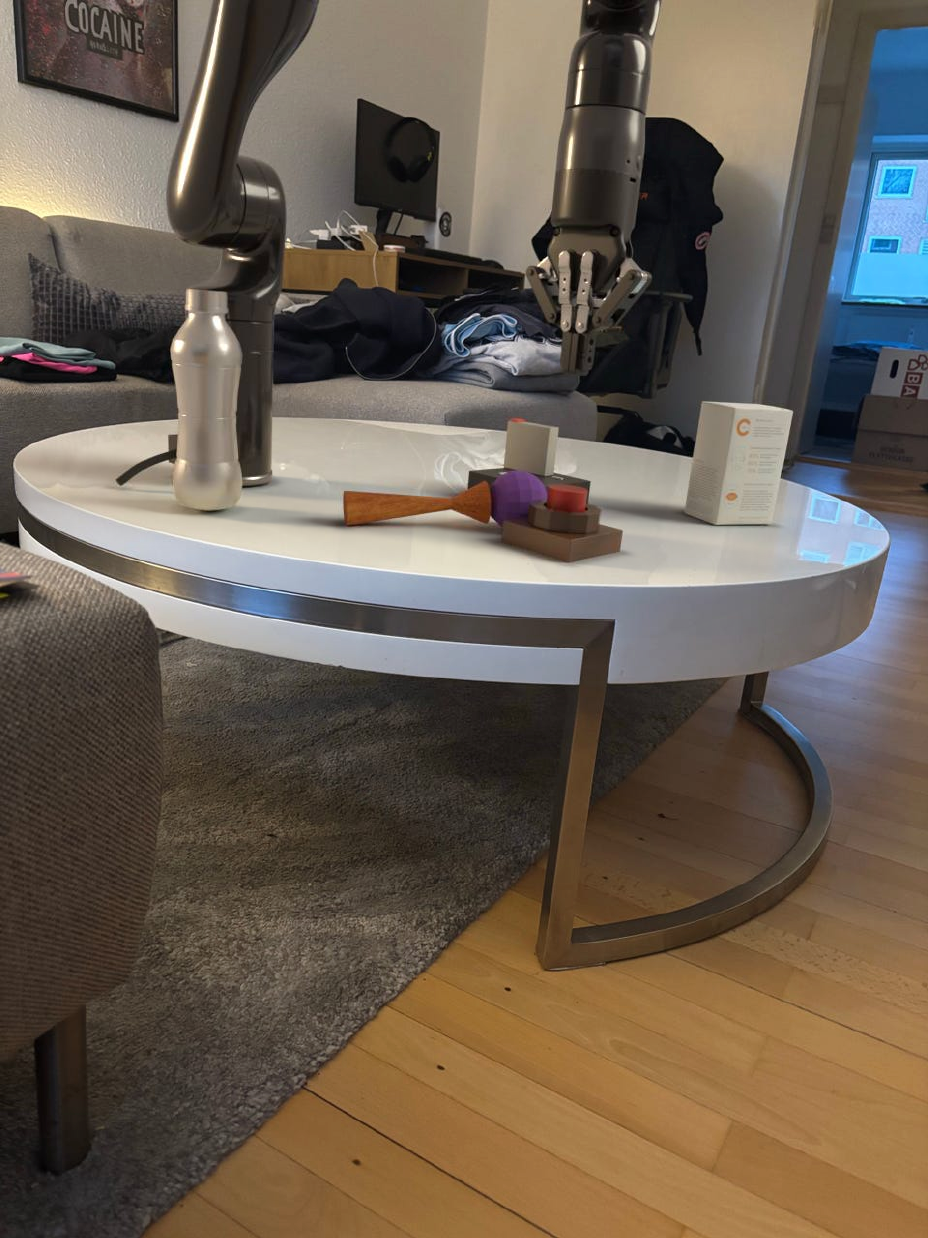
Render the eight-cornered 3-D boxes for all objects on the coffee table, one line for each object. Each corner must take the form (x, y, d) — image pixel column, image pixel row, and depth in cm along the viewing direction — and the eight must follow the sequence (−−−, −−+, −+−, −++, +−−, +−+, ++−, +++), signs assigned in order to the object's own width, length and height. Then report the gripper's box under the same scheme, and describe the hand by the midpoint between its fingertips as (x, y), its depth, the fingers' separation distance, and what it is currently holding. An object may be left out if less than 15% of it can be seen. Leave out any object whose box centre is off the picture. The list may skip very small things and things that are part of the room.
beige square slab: (553, 475, 107) (559, 425, 105) (544, 476, 105) (550, 425, 103) (512, 466, 110) (517, 418, 108) (503, 467, 109) (508, 418, 107)
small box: (738, 513, 111) (758, 403, 106) (772, 525, 105) (795, 410, 101) (682, 512, 108) (700, 399, 103) (714, 525, 102) (735, 406, 98)
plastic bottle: (251, 505, 92) (253, 294, 85) (228, 520, 85) (229, 292, 79) (188, 499, 92) (186, 288, 85) (161, 513, 86) (156, 286, 79)
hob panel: (532, 514, 99) (535, 485, 98) (453, 493, 107) (455, 466, 106) (598, 504, 108) (601, 478, 107) (520, 485, 115) (523, 460, 114)
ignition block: (568, 564, 81) (573, 519, 79) (500, 543, 86) (505, 501, 84) (620, 552, 86) (626, 511, 85) (553, 534, 91) (558, 494, 90)
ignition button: (568, 515, 82) (571, 493, 82) (538, 507, 85) (540, 485, 84) (592, 512, 85) (595, 490, 84) (562, 504, 87) (564, 483, 87)
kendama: (340, 476, 89) (536, 469, 93) (343, 537, 90) (537, 528, 94) (347, 476, 83) (555, 469, 88) (350, 541, 84) (556, 531, 89)
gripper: (513, 167, 82) (496, 367, 87) (639, 161, 74) (611, 382, 79) (563, 181, 87) (544, 368, 93) (686, 176, 79) (657, 382, 84)
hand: (575, 374), depth 86 cm, fingers closed
